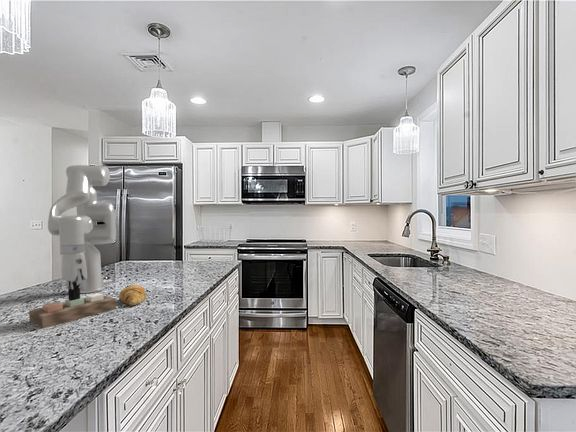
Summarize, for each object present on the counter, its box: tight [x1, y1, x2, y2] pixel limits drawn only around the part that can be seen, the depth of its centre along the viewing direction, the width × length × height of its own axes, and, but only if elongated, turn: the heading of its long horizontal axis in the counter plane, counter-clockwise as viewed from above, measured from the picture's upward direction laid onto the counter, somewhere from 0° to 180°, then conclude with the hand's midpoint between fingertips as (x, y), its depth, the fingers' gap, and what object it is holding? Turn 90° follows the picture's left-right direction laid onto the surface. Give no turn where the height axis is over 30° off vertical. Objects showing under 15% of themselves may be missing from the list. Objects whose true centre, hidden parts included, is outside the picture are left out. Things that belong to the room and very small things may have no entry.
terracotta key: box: [42, 301, 63, 313], centre depth 115 cm, size 4×4×4 cm
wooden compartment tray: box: [28, 295, 117, 329], centre depth 121 cm, size 24×12×4 cm, turn 145°
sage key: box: [64, 297, 85, 307], centre depth 121 cm, size 4×4×4 cm
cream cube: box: [85, 292, 105, 302], centre depth 127 cm, size 4×4×4 cm
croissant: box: [118, 284, 147, 307], centre depth 138 cm, size 21×10×8 cm, turn 27°
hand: (74, 299), depth 121 cm, fingers closed
